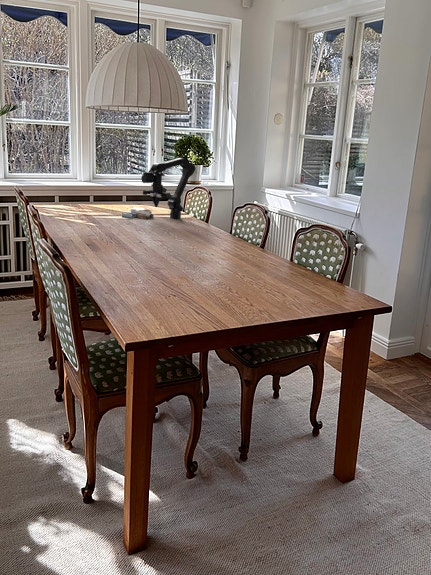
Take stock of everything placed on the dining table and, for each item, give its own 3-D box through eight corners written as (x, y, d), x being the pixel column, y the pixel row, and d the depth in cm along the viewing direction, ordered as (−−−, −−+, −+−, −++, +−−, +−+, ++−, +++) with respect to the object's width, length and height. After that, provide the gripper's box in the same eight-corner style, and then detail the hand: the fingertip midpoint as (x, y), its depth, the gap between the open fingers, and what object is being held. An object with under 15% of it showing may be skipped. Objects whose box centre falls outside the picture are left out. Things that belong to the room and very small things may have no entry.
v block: (137, 218, 348) (137, 213, 348) (131, 219, 343) (131, 214, 343) (127, 216, 352) (127, 212, 351) (121, 217, 347) (121, 213, 346)
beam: (153, 218, 353) (153, 214, 352) (145, 220, 345) (145, 215, 344) (127, 213, 363) (127, 209, 362) (118, 215, 355) (118, 210, 354)
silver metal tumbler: (151, 218, 351) (152, 210, 350) (146, 218, 346) (147, 209, 345) (135, 215, 357) (136, 207, 356) (130, 215, 352) (131, 207, 351)
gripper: (176, 183, 342) (174, 207, 347) (152, 180, 351) (151, 204, 355) (166, 184, 333) (165, 209, 337) (142, 181, 341) (141, 205, 346)
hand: (156, 207), depth 344 cm, fingers closed
